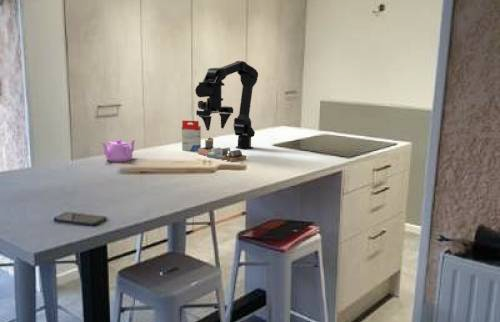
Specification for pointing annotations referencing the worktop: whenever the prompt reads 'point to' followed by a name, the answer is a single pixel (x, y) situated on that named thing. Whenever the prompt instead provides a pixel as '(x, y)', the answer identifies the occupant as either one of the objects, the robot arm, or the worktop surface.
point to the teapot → (118, 151)
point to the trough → (234, 158)
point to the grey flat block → (215, 153)
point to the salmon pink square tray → (203, 151)
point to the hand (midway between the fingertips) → (215, 129)
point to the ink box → (191, 136)
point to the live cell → (233, 154)
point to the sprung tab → (224, 151)
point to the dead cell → (208, 143)
